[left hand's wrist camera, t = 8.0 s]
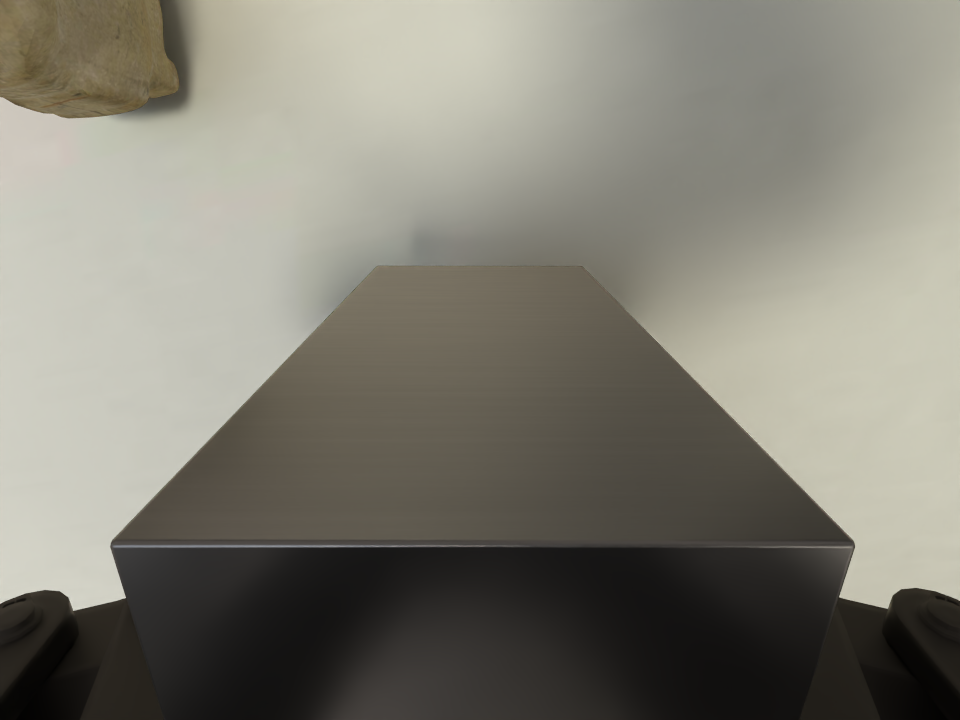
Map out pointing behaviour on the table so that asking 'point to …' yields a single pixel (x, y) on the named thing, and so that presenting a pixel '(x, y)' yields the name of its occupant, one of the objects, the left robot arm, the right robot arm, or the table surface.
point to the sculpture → (83, 56)
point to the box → (481, 526)
